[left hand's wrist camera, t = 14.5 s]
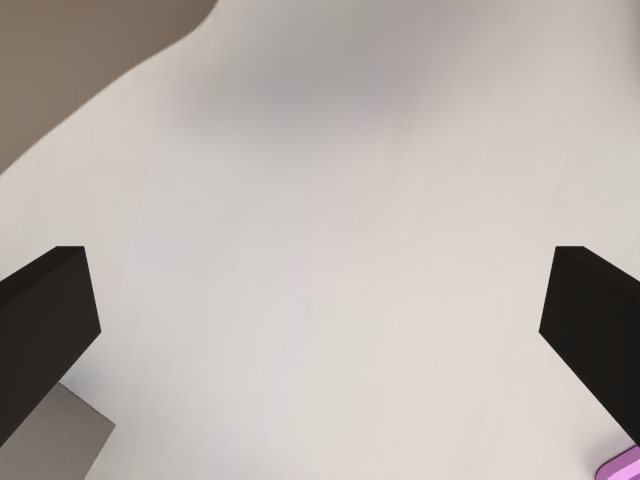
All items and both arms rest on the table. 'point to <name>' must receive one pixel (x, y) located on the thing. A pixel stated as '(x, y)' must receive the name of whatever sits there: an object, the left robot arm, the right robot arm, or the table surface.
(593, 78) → the table surface
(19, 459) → the box
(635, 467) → the bracket
